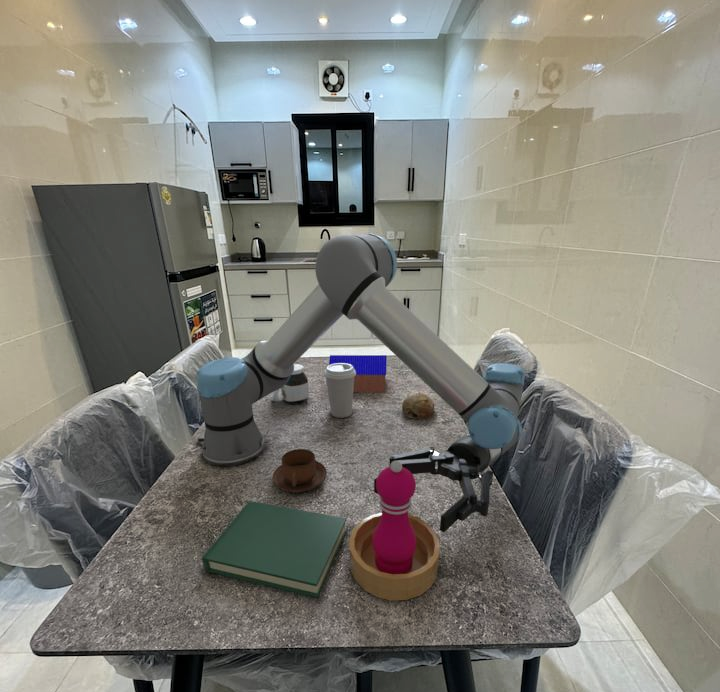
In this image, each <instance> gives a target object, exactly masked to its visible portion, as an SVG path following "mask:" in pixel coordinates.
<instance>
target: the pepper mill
mask: <svg viewBox="0 0 720 692" xmlns="http://www.w3.org/2000/svg"><path fill="white" fill-rule="evenodd" d="M376 478H377V481H376V489H377V492H378V494H377V495H379V496H378V500H379V501H378V504H379V507H380V509H381V513H382V518H381V521H380V523H379V524H378V526H377V527H376V529H375V532H374V534H373V540H372V546H373V550H374V552H375V564H376V566H377V568H378V570H379V571H380V572H384V573H389V574H407V573H408V572H409V571H410V569H411V568H412V562H413V554H414V553H415V550H416V536H415V533H414V530H413V528H412V526H411V524H410V522H409V518H408V514H409V511H410V510H411V508H412V501H413V498H412V497H413V496H414V494H415V492H416V484H417V483H416V479H415V476H414V474H412V473H411V472H410V471H409V470H407V469H406V468H403V467H402V464H401V462H399V461H393V462H392V463H391V465H390V467H389V466H387V467H385V468H383V469H382V470H381V471H380V472H379V474H378V475H377V477H376Z"/></svg>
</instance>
